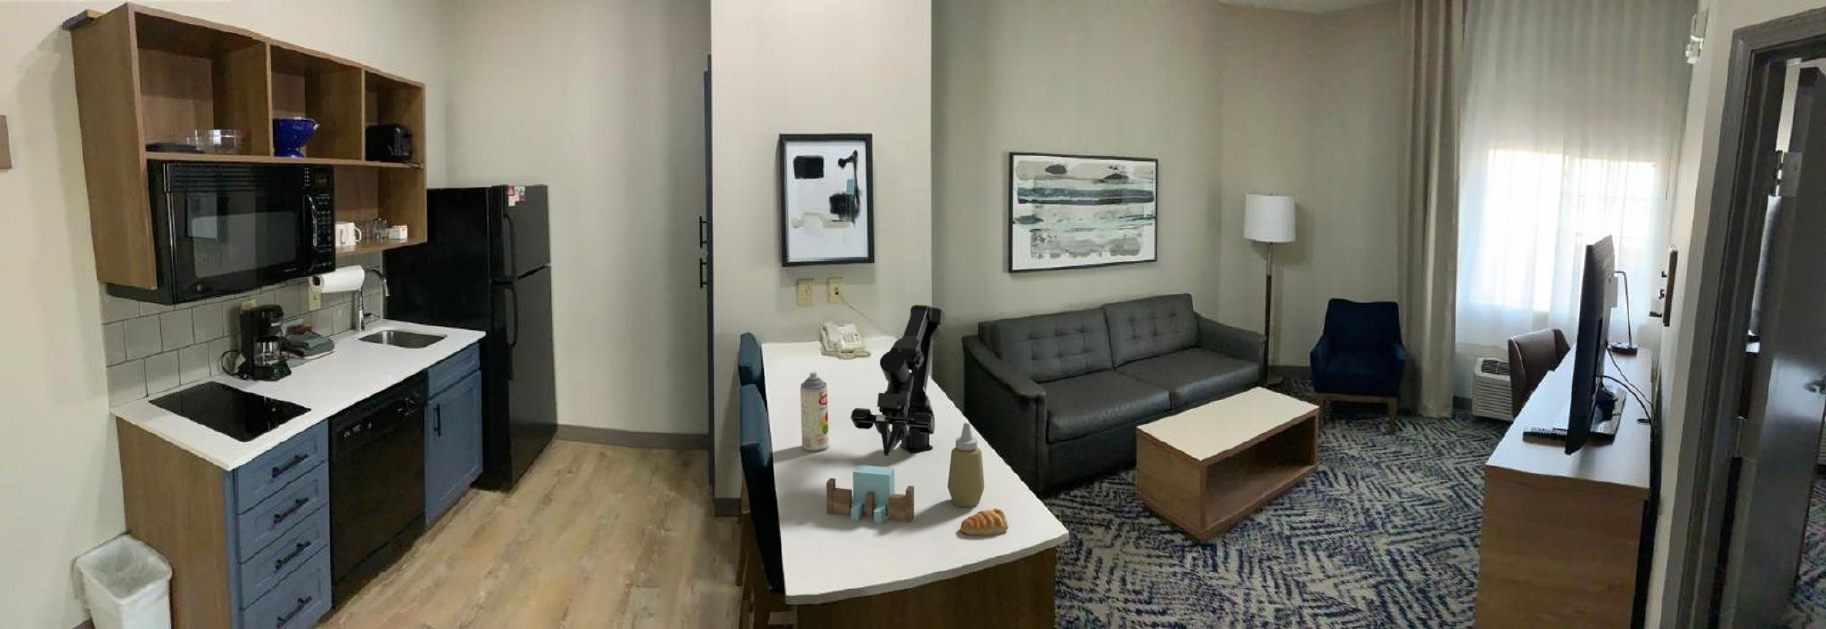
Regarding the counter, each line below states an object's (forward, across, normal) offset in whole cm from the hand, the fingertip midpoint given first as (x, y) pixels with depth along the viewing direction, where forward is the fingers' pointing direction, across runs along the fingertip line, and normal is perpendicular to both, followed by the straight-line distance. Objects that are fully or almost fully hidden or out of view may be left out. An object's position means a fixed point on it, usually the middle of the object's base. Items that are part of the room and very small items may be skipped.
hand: (886, 455), depth 183 cm
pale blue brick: (+14, 0, -2) cm, 15 cm away
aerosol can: (-10, -26, +22) cm, 35 cm away
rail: (+15, 0, -3) cm, 15 cm away
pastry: (+16, +25, -3) cm, 29 cm away
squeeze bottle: (+7, +18, +5) cm, 20 cm away
